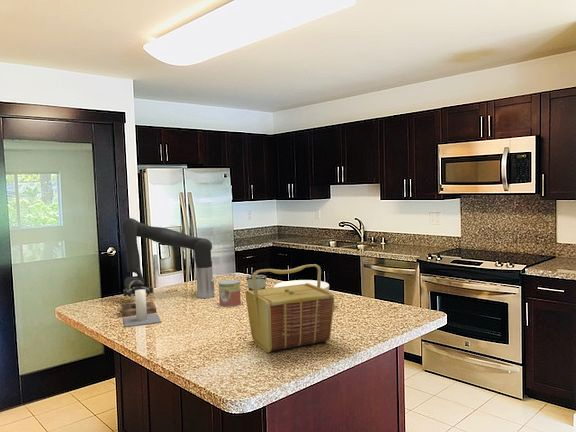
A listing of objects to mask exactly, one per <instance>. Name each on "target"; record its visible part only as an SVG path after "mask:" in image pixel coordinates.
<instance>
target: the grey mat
mask: <svg viewBox="0 0 576 432" xmlns="http://www.w3.org/2000/svg"><path fill="white" fill-rule="evenodd" d="M161 323H162V320H161V318H160V317H159V314H158V313H151V314H147V320H144V321H137V319H136V315H135V316H127V317H123V324H124V328H130V327H132V328H133V327H138V326H146V325H153V324H161Z"/></svg>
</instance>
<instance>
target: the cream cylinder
mask: <svg viewBox="0 0 576 432" xmlns="http://www.w3.org/2000/svg"><path fill="white" fill-rule="evenodd" d="M134 297H135V303H136V315H135V316H136V319H137V321H144V320H147V315H148V314H147V308H146V302H147V294H146V290H145V289H140V290H135V296H134Z"/></svg>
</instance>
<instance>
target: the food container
mask: <svg viewBox="0 0 576 432" xmlns="http://www.w3.org/2000/svg"><path fill="white" fill-rule="evenodd" d="M252 277H253V274H252V275H247V276H246V277H245V280H246V283H247V289H248V290H249V291H251V290H254V288H253V280H252ZM267 280H268V279H267V276H266V275H264V274H257V275H256V285H257V290H260V289H266V282H267Z"/></svg>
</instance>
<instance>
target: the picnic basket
mask: <svg viewBox="0 0 576 432" xmlns="http://www.w3.org/2000/svg"><path fill="white" fill-rule="evenodd" d="M311 267H313V268H314V267H315V268H316V269H317V280H316V281H317V286H315V285H312V284H309V283H306V284H300V285H292V286H284V287H276V288H274V287H270V288H269V287H268V288H265V289H260V290H257V285H256V275H259V273H268V272H270V273H273V274H276V275H277V274H278V275H287V274H294V273H297V272H300V271H302V270H304V269H305V268H306V269H307V268H311ZM321 268H322V267H321V266H320V265H318V264H316V263H314V264H311V263H310V264H304V265H301V266H297V267H294V268H289V269H275V268H264V269H263V268H262V269H258V270H255V271H254V272H253V274H252V275H253V277H252V280H253V288H254V290H251V291H249V290H246V291H245V301H246V306H247V307H246V308H247V314H248V320H249V326H250V334H251V335H250V336H251V338H252V340H253V342H254V343H255V344H256V345H258V346H259V347H260V348H261V349H262V350H263V351H265V352H266V353H271V352H273V351H280V350H284V349H292V348H296V347H301V346H308V345H312V344H318V343H328V342H330V339H331V333H332V327H333V318H334V317H333V315H334V309H335V295H334V294H333V292H332V291H330V290H329V291H328V290H325V289H322V288H320V283H321V281H322V280H321V278H322V277H321V276H322V269H321Z"/></svg>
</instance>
